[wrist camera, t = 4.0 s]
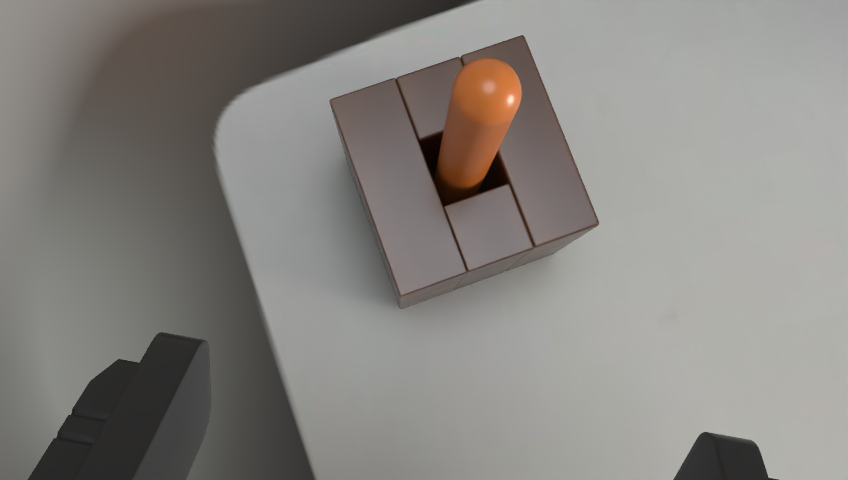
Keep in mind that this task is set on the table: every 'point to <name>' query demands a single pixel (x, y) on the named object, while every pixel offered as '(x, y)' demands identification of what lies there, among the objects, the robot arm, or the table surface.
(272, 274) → the table surface
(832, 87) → the table surface
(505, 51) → the pen holder
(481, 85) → the stylus
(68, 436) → the robot arm
